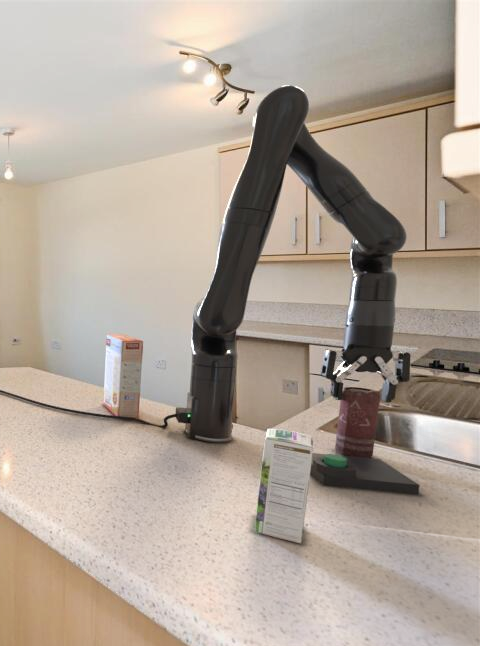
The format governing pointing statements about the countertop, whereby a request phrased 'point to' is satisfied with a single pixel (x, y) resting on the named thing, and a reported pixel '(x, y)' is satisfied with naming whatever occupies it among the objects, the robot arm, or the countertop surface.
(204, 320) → the robot arm
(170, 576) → the countertop surface
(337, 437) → the can
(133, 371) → the cracker box
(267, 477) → the syrup box
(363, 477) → the scale
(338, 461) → the tare button
